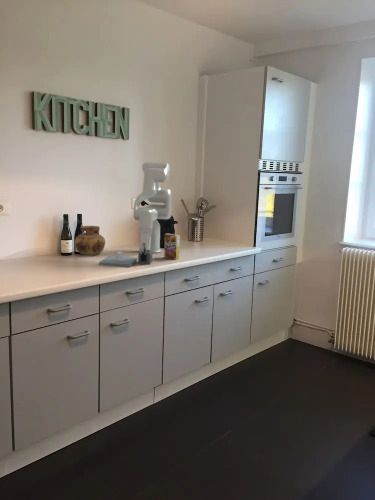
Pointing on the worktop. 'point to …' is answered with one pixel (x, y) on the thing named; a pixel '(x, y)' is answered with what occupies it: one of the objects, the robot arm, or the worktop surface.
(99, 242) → the clay pot
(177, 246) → the candy box
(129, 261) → the base
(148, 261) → the dark grey cube
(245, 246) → the worktop surface
